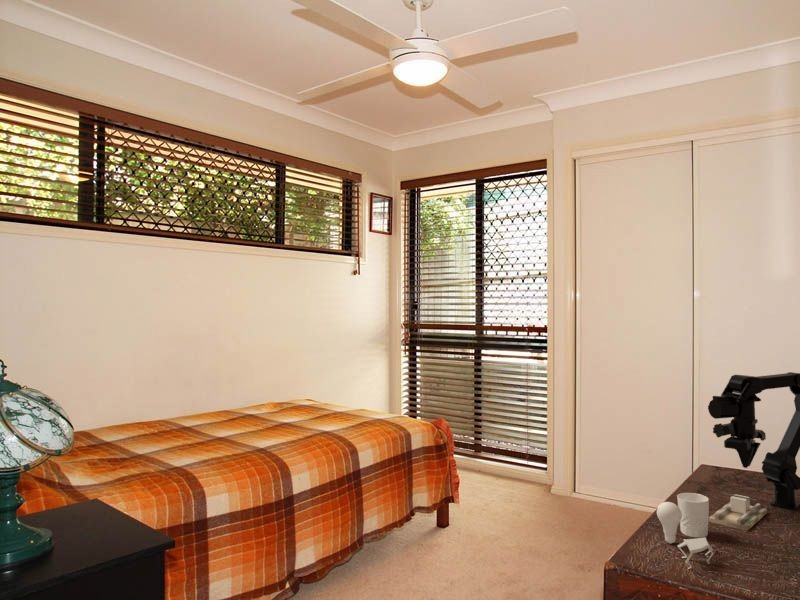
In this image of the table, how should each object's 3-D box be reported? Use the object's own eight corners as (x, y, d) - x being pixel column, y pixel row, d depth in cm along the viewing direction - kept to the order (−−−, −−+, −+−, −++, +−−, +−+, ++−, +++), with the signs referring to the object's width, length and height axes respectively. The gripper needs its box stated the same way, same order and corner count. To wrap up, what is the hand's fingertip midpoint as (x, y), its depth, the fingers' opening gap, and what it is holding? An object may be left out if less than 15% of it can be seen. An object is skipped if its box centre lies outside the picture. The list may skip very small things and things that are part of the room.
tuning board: (730, 505, 178) (730, 497, 178) (767, 513, 171) (766, 505, 171) (709, 521, 166) (708, 513, 166) (747, 530, 159) (746, 522, 159)
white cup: (709, 529, 161) (707, 494, 161) (711, 540, 154) (709, 503, 154) (678, 526, 164) (676, 491, 164) (679, 536, 157) (677, 500, 157)
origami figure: (678, 550, 149) (677, 532, 149) (715, 557, 144) (714, 537, 144) (673, 570, 138) (673, 550, 138) (712, 577, 134) (712, 556, 134)
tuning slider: (726, 505, 175) (725, 491, 175) (760, 512, 168) (759, 498, 168) (721, 508, 172) (720, 494, 172) (755, 516, 165) (755, 501, 165)
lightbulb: (685, 548, 149) (684, 506, 150) (661, 547, 151) (659, 506, 151) (679, 539, 155) (677, 498, 155) (655, 538, 157) (653, 498, 157)
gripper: (726, 408, 187) (728, 456, 187) (704, 418, 175) (707, 468, 174) (765, 412, 179) (767, 462, 179) (745, 422, 166) (747, 475, 166)
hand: (746, 466), depth 175 cm, fingers closed
